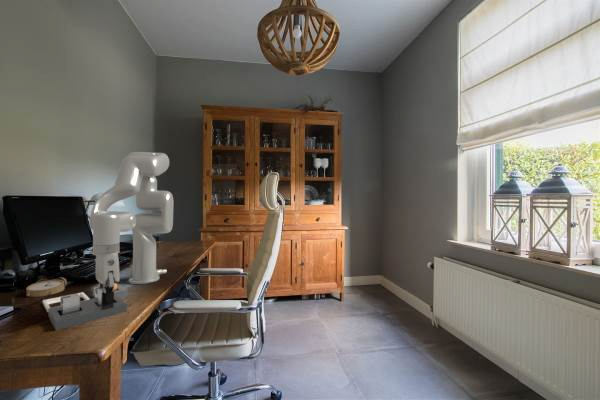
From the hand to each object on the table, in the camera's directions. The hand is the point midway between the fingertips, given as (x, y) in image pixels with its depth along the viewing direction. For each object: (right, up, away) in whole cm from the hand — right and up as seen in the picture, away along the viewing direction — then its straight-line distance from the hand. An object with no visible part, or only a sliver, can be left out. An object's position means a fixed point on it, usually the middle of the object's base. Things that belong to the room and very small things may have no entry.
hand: (106, 301), depth 93 cm
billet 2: (0, -2, 0) cm, 2 cm away
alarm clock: (-37, -3, +18) cm, 41 cm away
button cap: (-7, 0, +12) cm, 14 cm away
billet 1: (-6, -3, -7) cm, 10 cm away
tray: (-18, -3, +5) cm, 19 cm away
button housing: (-7, -3, +12) cm, 14 cm away
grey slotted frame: (-3, -3, -4) cm, 6 cm away
